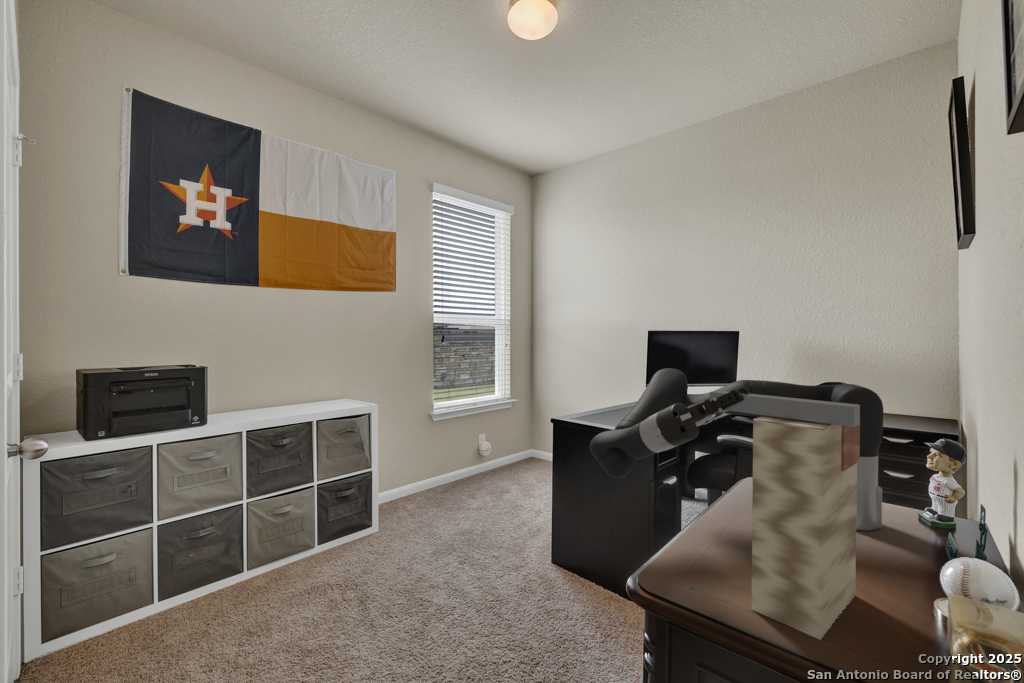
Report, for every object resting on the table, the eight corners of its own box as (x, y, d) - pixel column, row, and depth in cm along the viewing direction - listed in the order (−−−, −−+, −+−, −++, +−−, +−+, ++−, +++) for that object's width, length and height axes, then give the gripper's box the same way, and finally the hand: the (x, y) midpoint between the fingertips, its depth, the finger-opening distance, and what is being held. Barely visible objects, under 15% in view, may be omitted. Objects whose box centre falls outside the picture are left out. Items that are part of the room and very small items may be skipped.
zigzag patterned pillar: (751, 609, 77) (753, 418, 76) (792, 572, 89) (794, 406, 88) (822, 641, 69) (825, 428, 68) (857, 596, 81) (860, 414, 80)
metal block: (709, 408, 85) (709, 391, 85) (717, 406, 87) (717, 390, 87) (853, 427, 68) (854, 406, 68) (859, 424, 70) (859, 404, 70)
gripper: (694, 440, 97) (771, 408, 85) (656, 452, 88) (736, 418, 76) (678, 407, 99) (750, 372, 88) (639, 415, 90) (714, 377, 79)
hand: (743, 393), depth 82 cm, fingers closed on metal block, 3 cm apart
